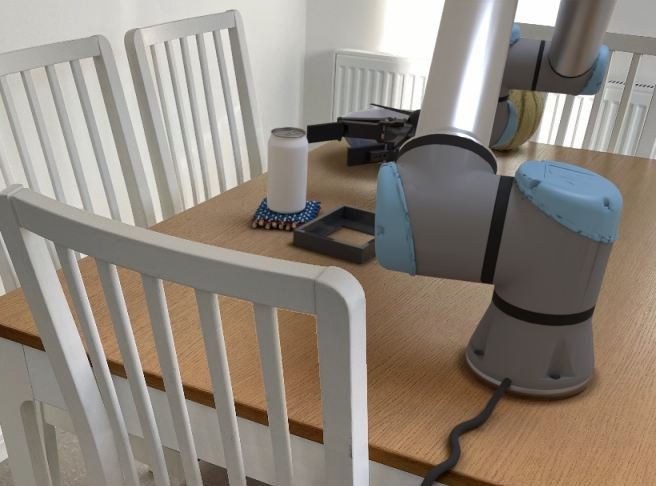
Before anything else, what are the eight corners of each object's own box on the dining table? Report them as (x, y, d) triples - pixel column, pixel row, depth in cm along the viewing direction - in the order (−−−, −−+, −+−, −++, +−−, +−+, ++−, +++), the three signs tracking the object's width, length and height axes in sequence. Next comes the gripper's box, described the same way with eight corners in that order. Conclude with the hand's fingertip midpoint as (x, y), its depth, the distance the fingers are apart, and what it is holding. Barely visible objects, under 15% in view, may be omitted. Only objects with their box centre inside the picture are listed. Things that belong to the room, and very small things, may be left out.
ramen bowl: (307, 158, 165) (309, 115, 160) (383, 138, 177) (387, 96, 172) (402, 191, 151) (407, 144, 146) (477, 166, 163) (485, 122, 158)
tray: (361, 264, 125) (362, 248, 124) (292, 244, 131) (293, 229, 129) (407, 234, 135) (409, 220, 133) (342, 217, 140) (343, 203, 139)
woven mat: (261, 206, 144) (261, 194, 143) (321, 211, 143) (322, 199, 141) (249, 228, 136) (249, 215, 135) (312, 233, 135) (313, 221, 133)
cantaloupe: (486, 134, 181) (499, 57, 172) (547, 148, 174) (565, 69, 164) (450, 148, 173) (462, 68, 163) (513, 163, 165) (529, 81, 156)
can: (258, 207, 138) (259, 130, 130) (286, 198, 141) (289, 123, 134) (285, 217, 134) (287, 139, 127) (313, 208, 138) (317, 132, 130)
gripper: (475, 175, 135) (364, 192, 128) (393, 135, 153) (291, 148, 145) (483, 127, 131) (368, 141, 123) (398, 91, 148) (293, 102, 140)
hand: (326, 145), depth 134 cm, fingers open, 13 cm apart
